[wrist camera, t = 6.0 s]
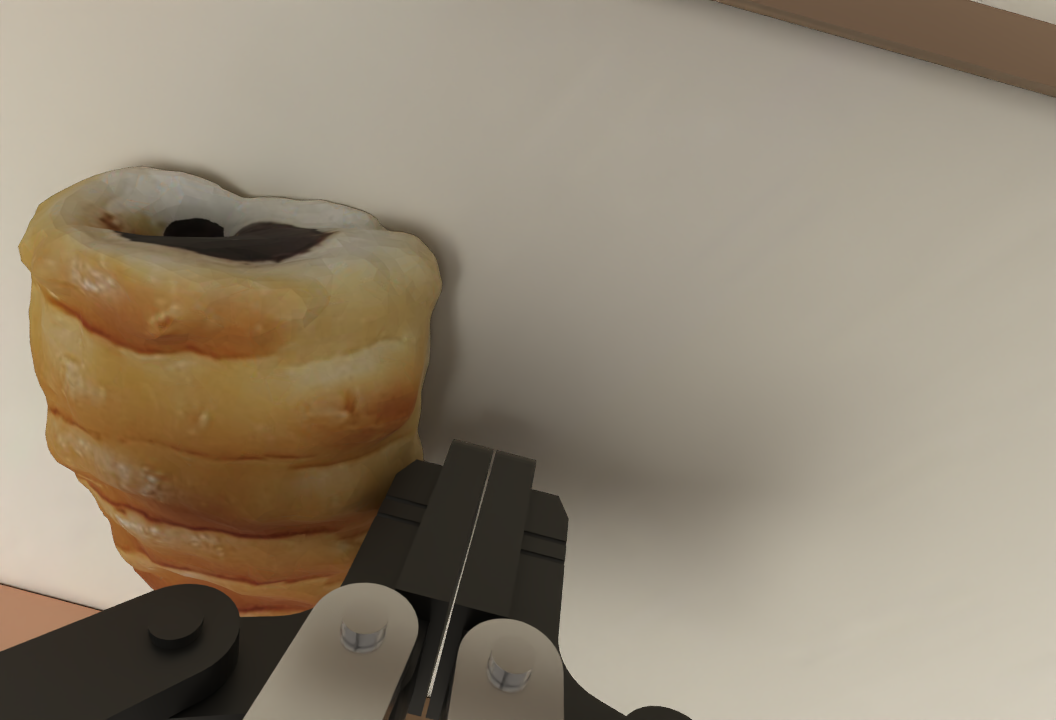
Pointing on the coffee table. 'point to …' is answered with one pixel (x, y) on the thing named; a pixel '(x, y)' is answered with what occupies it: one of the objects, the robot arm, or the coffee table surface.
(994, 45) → the walnut chute
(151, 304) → the pastry
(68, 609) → the terracotta pen
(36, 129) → the coffee table surface
